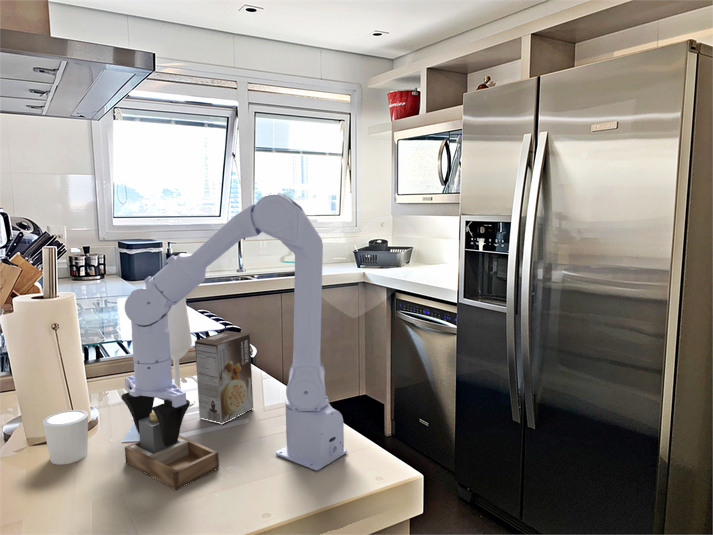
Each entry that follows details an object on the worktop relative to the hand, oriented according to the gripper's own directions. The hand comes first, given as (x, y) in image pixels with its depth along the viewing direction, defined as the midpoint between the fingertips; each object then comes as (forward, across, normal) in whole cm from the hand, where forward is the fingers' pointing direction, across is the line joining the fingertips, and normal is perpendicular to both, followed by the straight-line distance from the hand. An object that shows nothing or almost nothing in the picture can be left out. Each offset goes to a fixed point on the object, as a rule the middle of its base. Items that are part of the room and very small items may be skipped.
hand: (157, 437), depth 92 cm
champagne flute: (+4, -18, +16) cm, 25 cm away
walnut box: (+4, +4, 0) cm, 5 cm away
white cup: (+4, -13, -8) cm, 16 cm away
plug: (+3, 0, 0) cm, 3 cm away
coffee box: (+4, -6, +19) cm, 20 cm away
